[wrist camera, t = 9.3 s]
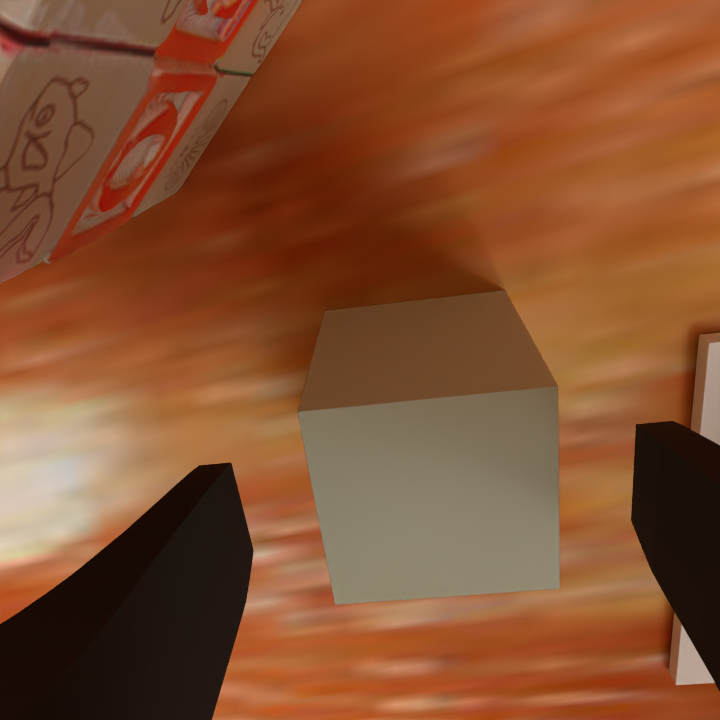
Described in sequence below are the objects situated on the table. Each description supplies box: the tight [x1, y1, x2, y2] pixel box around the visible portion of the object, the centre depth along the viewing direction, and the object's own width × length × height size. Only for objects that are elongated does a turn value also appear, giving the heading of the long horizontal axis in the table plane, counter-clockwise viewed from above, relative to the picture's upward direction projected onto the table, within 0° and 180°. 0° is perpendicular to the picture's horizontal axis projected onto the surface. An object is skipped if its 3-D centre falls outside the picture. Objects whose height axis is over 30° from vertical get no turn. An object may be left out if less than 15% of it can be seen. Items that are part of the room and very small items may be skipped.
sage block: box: [298, 290, 560, 605], centre depth 13 cm, size 4×4×5 cm
